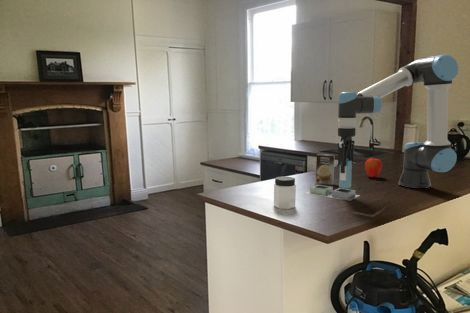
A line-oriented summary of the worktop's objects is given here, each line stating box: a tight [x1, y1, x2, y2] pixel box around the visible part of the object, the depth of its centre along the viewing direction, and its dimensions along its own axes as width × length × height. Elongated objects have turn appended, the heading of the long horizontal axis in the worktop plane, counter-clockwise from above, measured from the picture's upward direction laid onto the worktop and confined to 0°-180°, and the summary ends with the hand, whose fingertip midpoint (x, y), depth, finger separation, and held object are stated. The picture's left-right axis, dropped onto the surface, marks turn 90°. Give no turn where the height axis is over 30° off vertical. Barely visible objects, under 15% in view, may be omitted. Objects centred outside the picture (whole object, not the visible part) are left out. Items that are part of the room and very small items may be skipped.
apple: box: [364, 157, 383, 178], centre depth 221 cm, size 9×9×12 cm
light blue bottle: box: [338, 158, 353, 189], centre depth 172 cm, size 4×4×13 cm
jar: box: [273, 176, 297, 210], centre depth 159 cm, size 9×8×12 cm
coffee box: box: [314, 153, 336, 186], centre depth 201 cm, size 9×6×16 cm
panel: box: [305, 184, 361, 201], centre depth 177 cm, size 22×12×4 cm, turn 51°
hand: (345, 179), depth 173 cm, fingers closed on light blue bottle, 4 cm apart
